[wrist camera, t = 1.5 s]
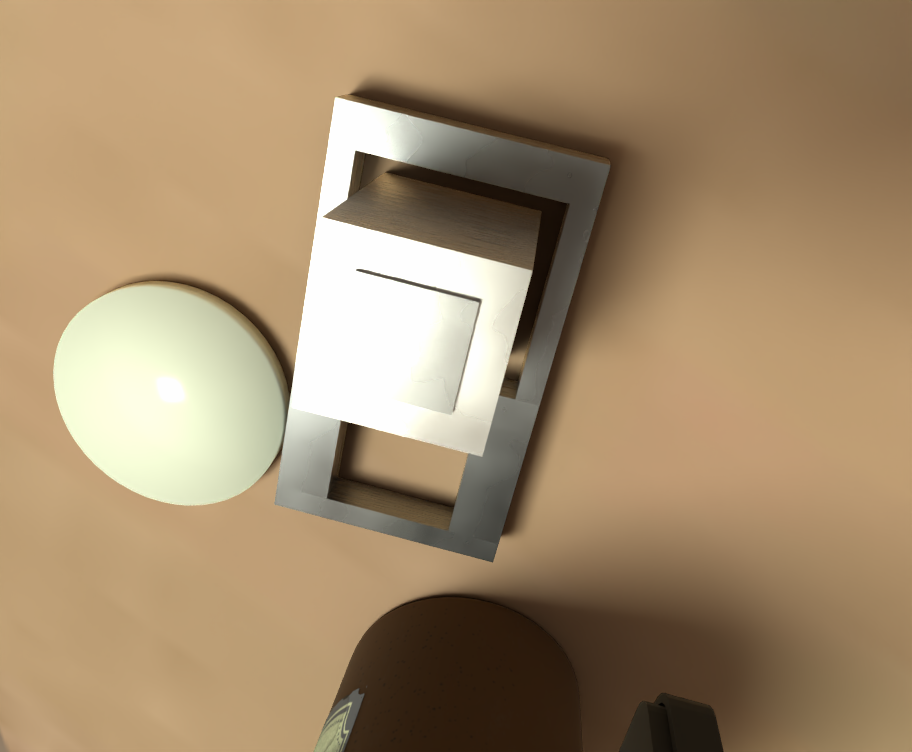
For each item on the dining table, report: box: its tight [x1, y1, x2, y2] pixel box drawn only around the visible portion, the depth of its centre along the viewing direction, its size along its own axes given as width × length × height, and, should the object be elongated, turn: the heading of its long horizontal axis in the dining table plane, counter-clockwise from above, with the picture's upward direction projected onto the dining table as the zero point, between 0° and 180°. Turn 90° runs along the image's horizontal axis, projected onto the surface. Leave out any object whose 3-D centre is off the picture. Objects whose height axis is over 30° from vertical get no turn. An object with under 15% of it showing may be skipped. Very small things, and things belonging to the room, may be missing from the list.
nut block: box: [293, 172, 542, 457], centre depth 22 cm, size 5×5×7 cm
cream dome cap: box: [53, 281, 290, 505], centre depth 28 cm, size 8×8×1 cm
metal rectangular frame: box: [275, 94, 611, 562], centre depth 26 cm, size 14×8×2 cm, turn 167°
